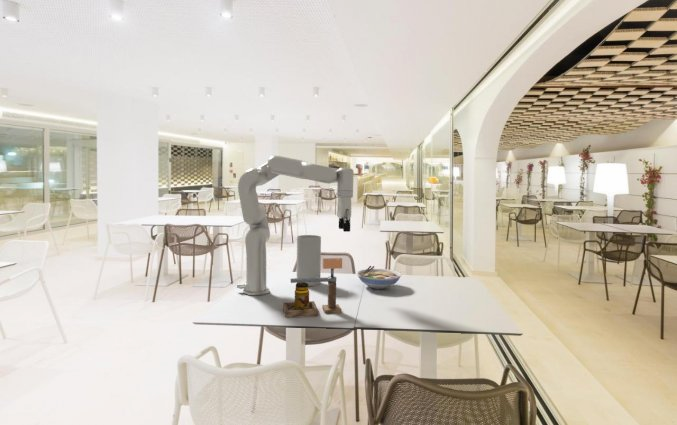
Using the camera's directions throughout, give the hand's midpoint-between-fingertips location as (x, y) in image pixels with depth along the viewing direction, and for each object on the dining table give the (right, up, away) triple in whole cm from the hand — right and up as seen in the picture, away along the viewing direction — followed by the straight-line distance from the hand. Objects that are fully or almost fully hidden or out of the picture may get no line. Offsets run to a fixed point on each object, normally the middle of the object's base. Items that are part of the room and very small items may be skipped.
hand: (344, 230), depth 206 cm
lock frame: (-13, -33, -24) cm, 43 cm away
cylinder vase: (-19, -29, +22) cm, 41 cm away
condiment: (-19, -33, -25) cm, 46 cm away
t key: (-12, -21, -25) cm, 34 cm away
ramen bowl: (+18, -31, +17) cm, 39 cm away
